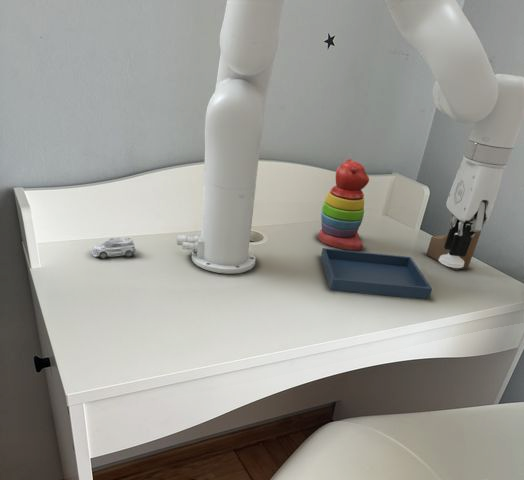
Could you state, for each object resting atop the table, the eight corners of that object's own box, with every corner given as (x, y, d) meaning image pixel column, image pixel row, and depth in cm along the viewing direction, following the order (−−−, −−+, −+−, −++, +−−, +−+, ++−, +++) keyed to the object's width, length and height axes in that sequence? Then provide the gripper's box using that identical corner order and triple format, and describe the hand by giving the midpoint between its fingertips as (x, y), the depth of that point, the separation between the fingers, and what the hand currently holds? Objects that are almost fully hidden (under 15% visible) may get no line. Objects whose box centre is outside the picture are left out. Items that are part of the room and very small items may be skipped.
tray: (330, 290, 97) (332, 279, 96) (320, 258, 110) (322, 247, 108) (428, 299, 99) (432, 288, 97) (408, 266, 111) (411, 256, 110)
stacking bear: (363, 252, 115) (382, 170, 106) (318, 247, 115) (334, 164, 105) (356, 235, 125) (373, 158, 115) (315, 230, 124) (329, 153, 114)
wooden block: (425, 254, 119) (449, 175, 109) (439, 252, 121) (464, 174, 111) (454, 270, 113) (483, 188, 103) (468, 268, 115) (498, 187, 105)
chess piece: (465, 269, 99) (483, 219, 94) (439, 265, 100) (455, 214, 95) (462, 260, 103) (479, 211, 98) (437, 255, 104) (452, 207, 99)
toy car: (90, 251, 99) (89, 236, 97) (132, 249, 102) (132, 235, 100) (93, 259, 96) (92, 244, 94) (136, 257, 99) (136, 242, 98)
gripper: (451, 142, 97) (423, 235, 107) (484, 163, 84) (449, 267, 94) (489, 146, 98) (458, 239, 108) (528, 168, 84) (488, 271, 94)
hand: (454, 251), depth 100 cm, fingers closed on chess piece
